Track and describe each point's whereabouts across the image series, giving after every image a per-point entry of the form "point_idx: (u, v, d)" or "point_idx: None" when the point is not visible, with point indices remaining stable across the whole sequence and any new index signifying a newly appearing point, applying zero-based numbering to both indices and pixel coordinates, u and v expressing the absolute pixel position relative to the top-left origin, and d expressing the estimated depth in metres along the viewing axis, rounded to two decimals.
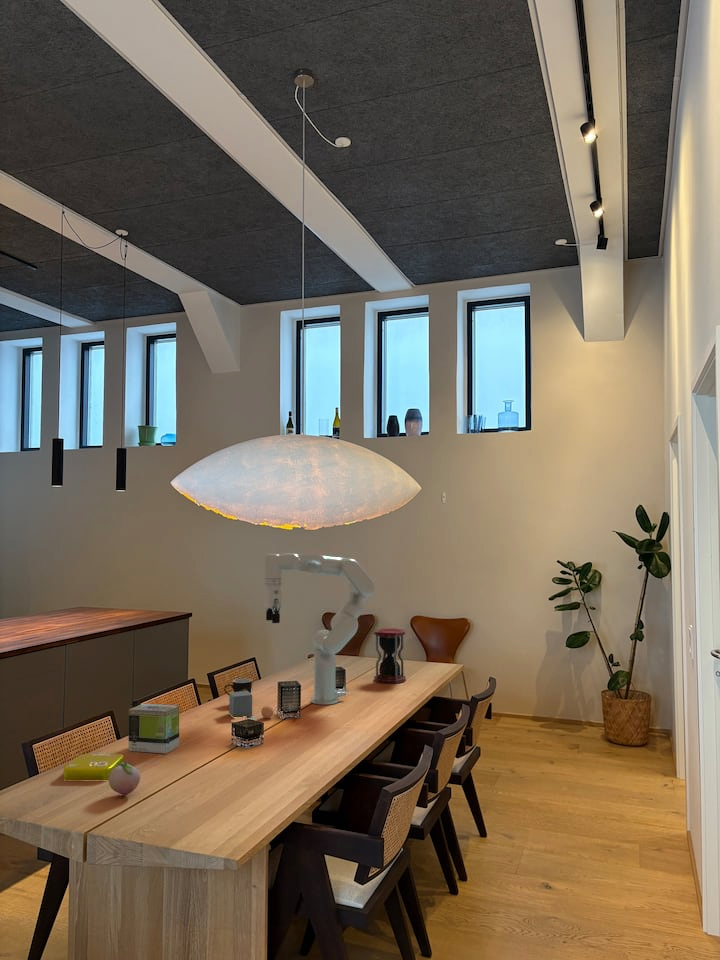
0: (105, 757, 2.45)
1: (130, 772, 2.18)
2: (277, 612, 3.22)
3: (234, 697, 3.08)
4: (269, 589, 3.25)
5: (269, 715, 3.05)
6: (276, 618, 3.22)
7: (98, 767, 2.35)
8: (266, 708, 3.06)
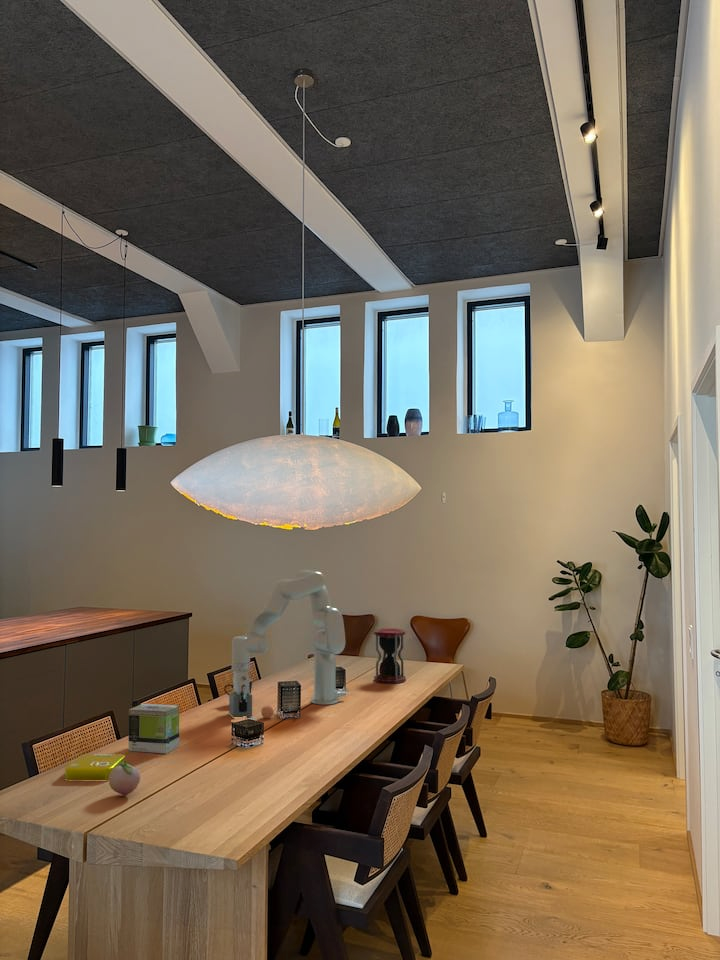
0: (106, 757, 2.45)
1: (130, 772, 2.18)
2: (244, 700, 3.07)
3: (234, 697, 3.08)
4: (236, 675, 3.10)
5: (269, 715, 3.05)
6: (243, 707, 3.07)
7: (99, 767, 2.35)
8: (266, 708, 3.06)
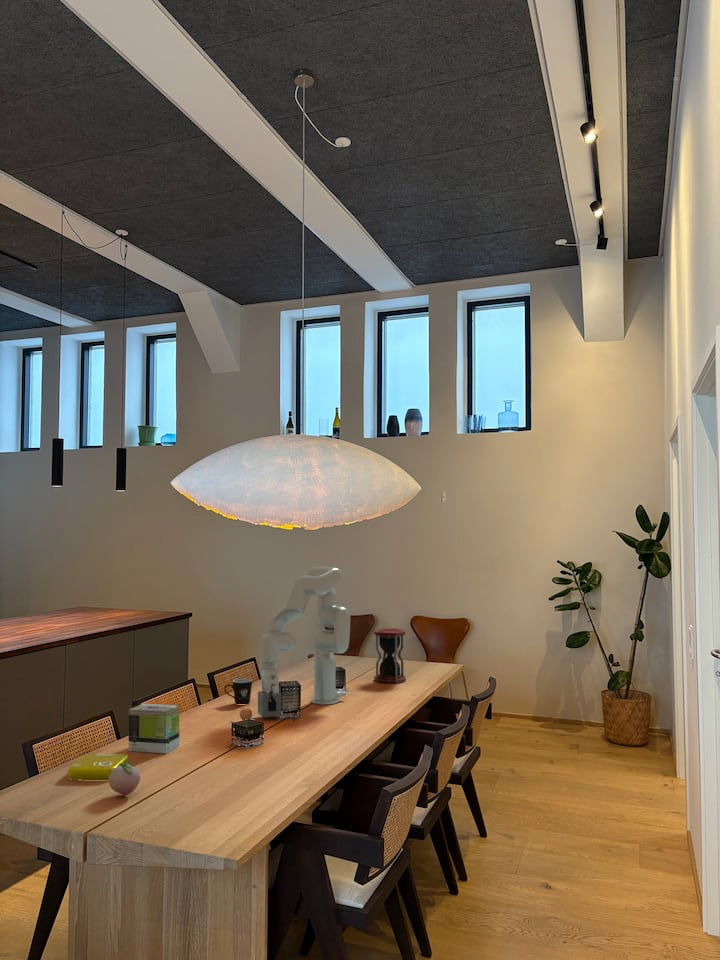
0: (109, 757, 2.45)
1: (130, 772, 2.18)
2: (273, 700, 3.03)
3: (263, 696, 3.03)
4: (265, 673, 3.05)
5: (245, 713, 3.02)
6: (272, 706, 3.03)
7: (102, 767, 2.35)
8: (249, 718, 3.03)
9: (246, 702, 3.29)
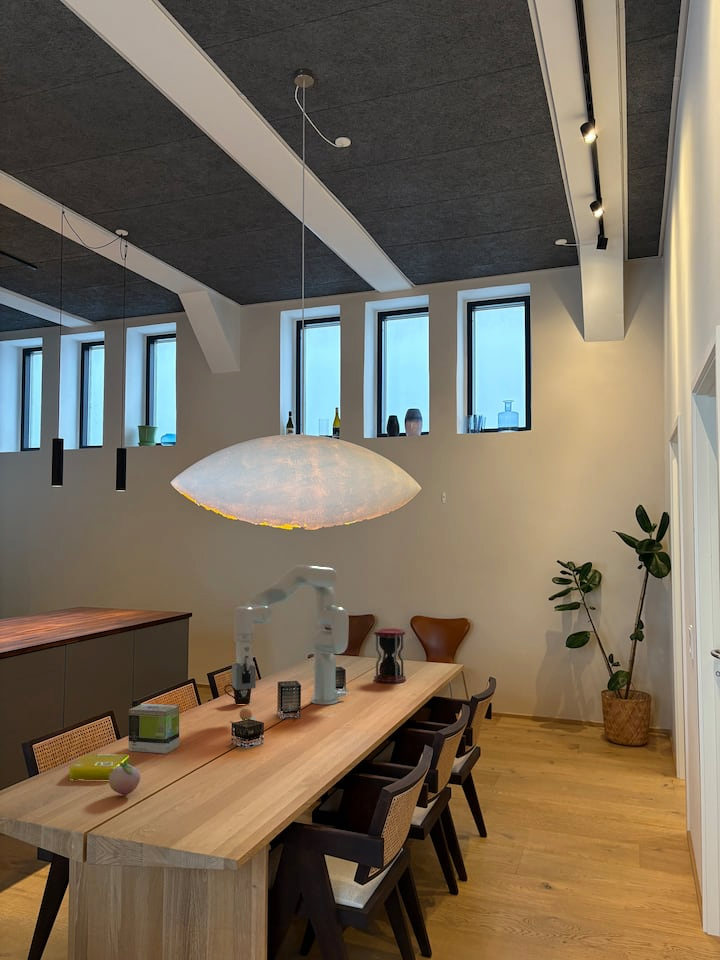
0: (111, 757, 2.45)
1: (130, 772, 2.18)
2: (247, 672, 2.99)
3: (237, 668, 3.00)
4: (239, 645, 3.02)
5: (245, 713, 3.02)
6: (246, 678, 2.99)
7: (103, 767, 2.35)
8: (249, 718, 3.03)
9: (246, 702, 3.29)
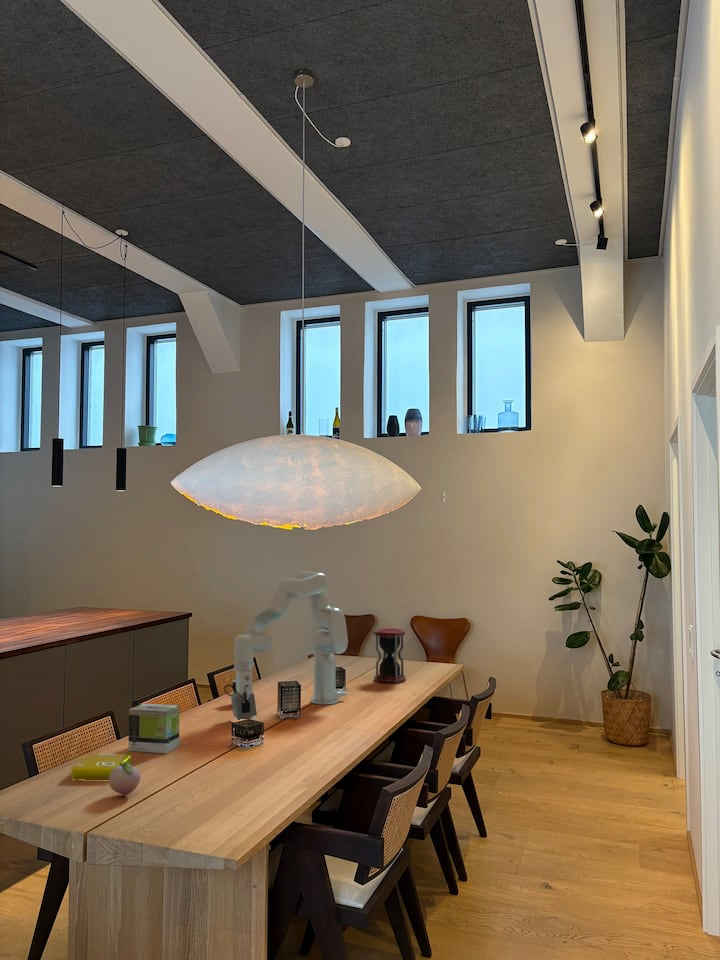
0: (112, 757, 2.45)
1: (130, 772, 2.18)
2: (247, 701, 2.98)
3: (236, 698, 2.99)
4: (239, 674, 3.01)
5: None
6: (246, 707, 2.99)
7: (105, 767, 2.35)
8: (250, 718, 3.03)
9: None
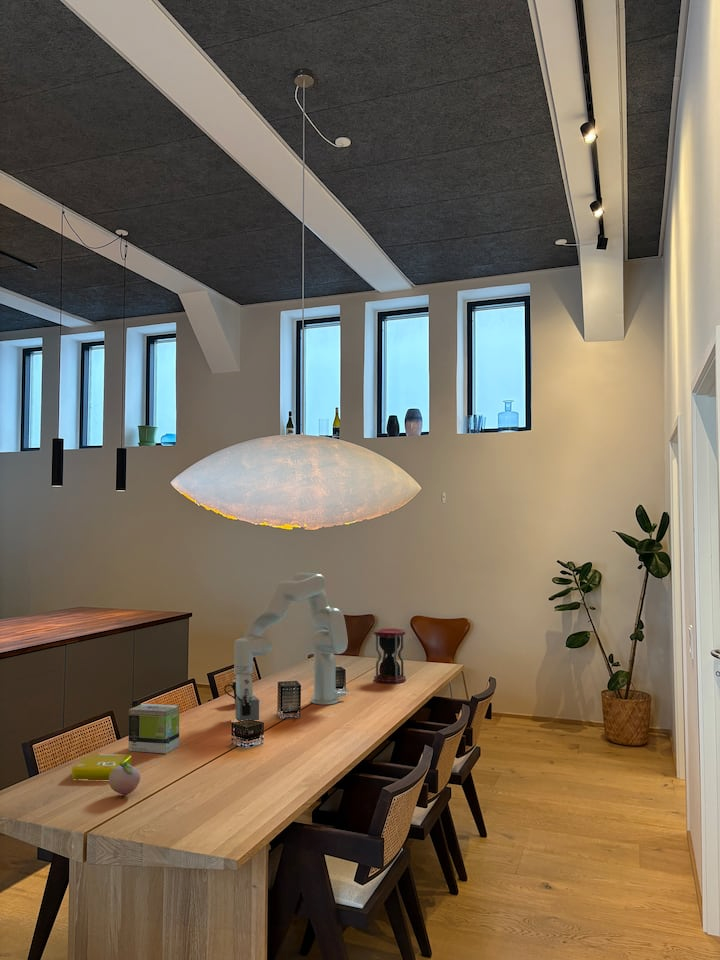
0: (113, 757, 2.45)
1: (130, 772, 2.18)
2: (247, 704, 2.98)
3: (240, 702, 2.99)
4: (239, 678, 3.01)
5: None
6: (246, 710, 2.98)
7: (105, 767, 2.35)
8: None
9: None
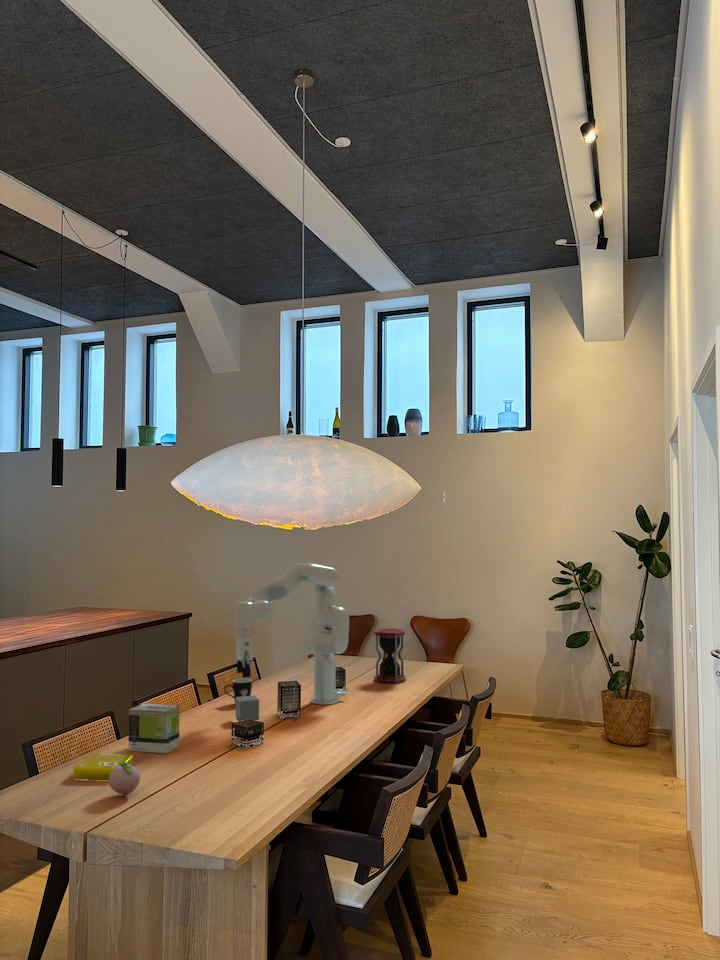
0: (115, 757, 2.45)
1: (130, 772, 2.18)
2: (247, 666, 2.99)
3: (240, 702, 2.99)
4: (239, 640, 3.02)
5: None
6: (246, 672, 2.99)
7: (107, 767, 2.35)
8: None
9: None
